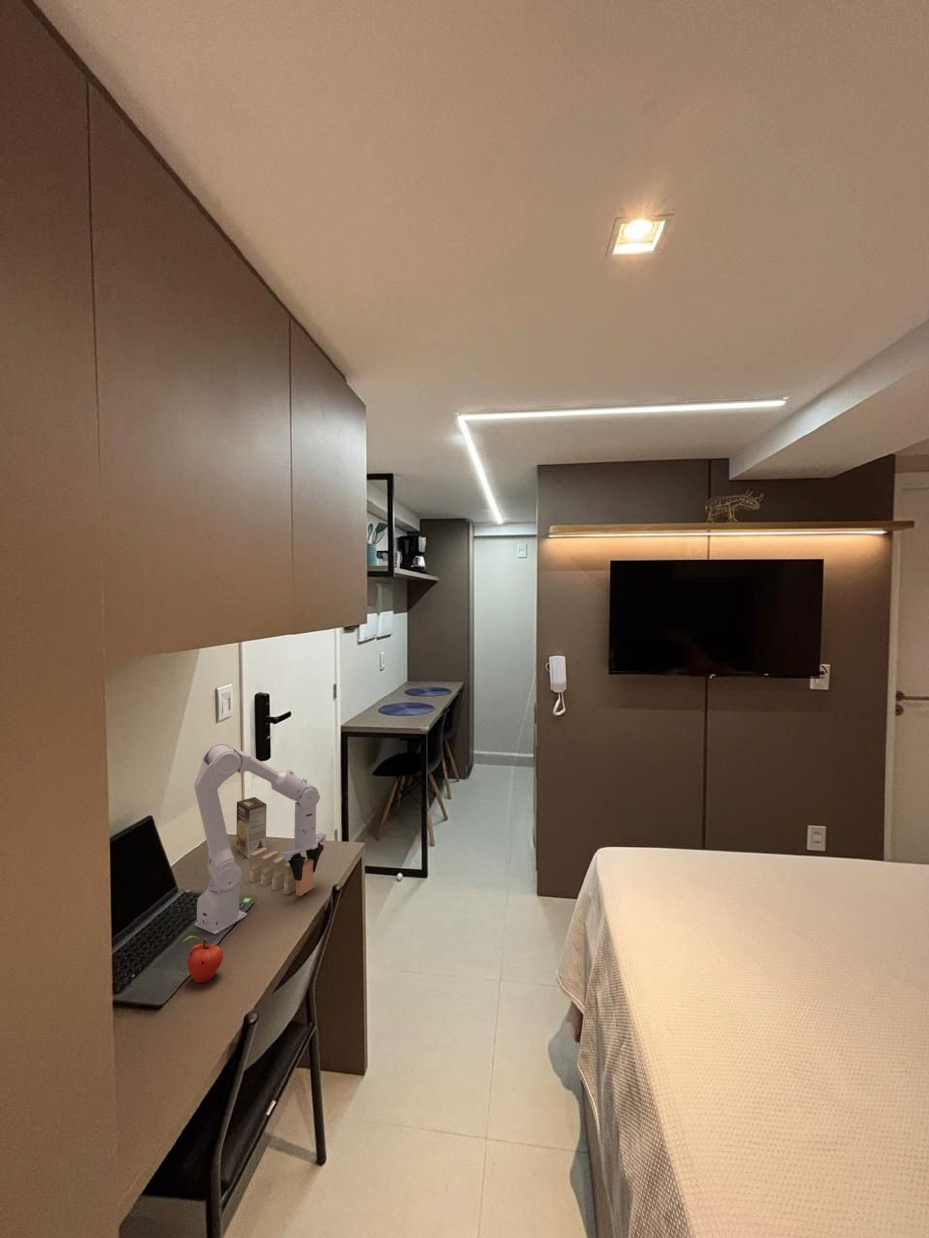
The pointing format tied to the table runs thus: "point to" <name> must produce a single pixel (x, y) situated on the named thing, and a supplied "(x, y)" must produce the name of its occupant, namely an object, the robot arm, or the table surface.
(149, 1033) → the table surface
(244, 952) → the table surface
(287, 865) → the cream domino
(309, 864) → the terracotta domino
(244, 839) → the coffee box
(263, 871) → the cream domino
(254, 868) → the cream domino
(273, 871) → the cream domino
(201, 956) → the apple
